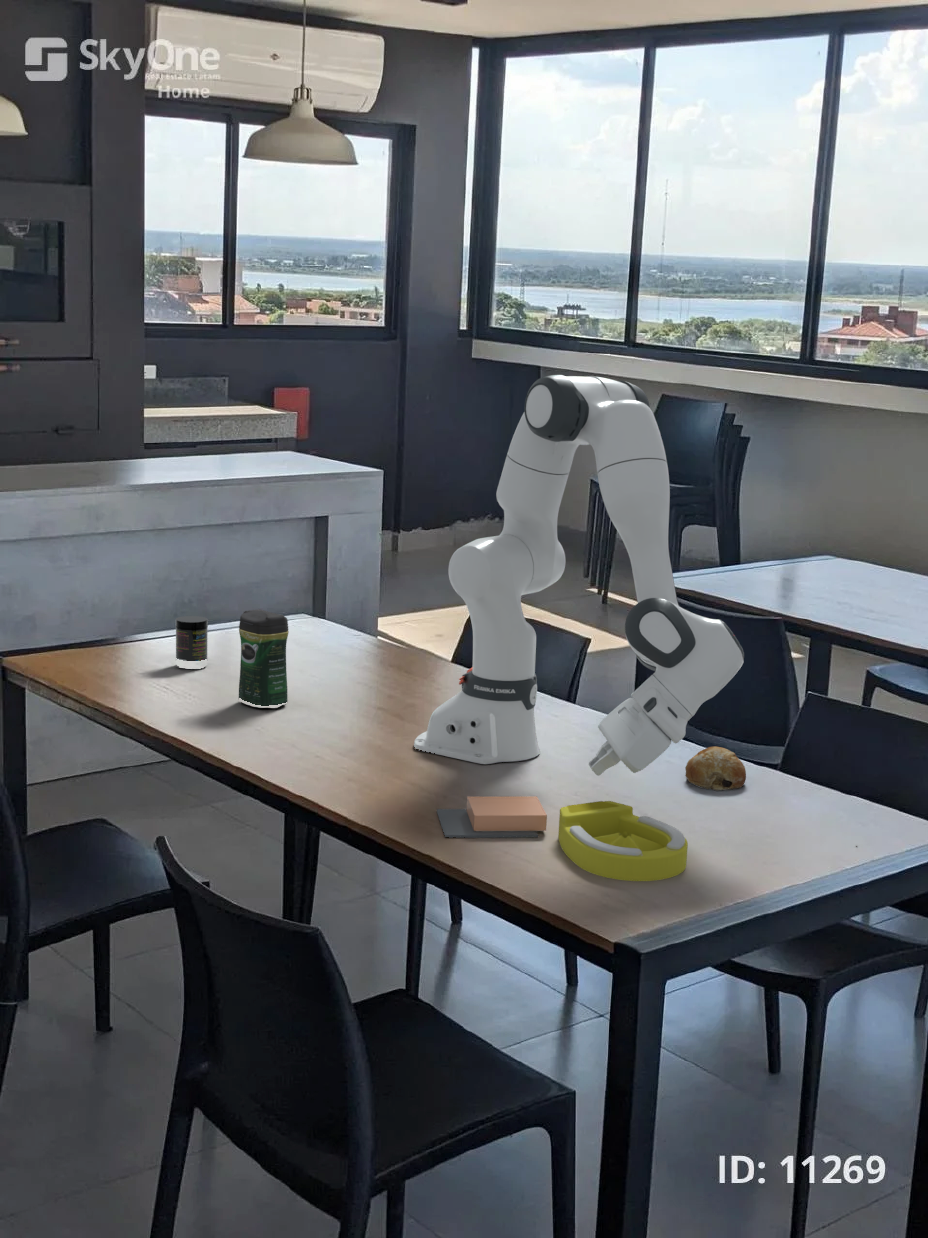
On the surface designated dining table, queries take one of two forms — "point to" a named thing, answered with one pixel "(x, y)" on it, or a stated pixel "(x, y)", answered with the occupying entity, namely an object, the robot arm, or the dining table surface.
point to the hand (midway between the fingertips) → (592, 770)
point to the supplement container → (191, 638)
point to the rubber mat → (460, 826)
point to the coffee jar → (263, 657)
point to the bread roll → (716, 769)
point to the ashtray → (621, 842)
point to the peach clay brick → (506, 813)
